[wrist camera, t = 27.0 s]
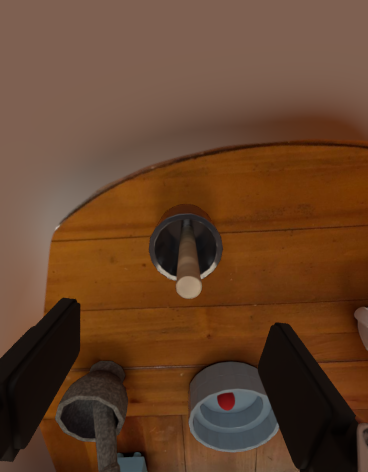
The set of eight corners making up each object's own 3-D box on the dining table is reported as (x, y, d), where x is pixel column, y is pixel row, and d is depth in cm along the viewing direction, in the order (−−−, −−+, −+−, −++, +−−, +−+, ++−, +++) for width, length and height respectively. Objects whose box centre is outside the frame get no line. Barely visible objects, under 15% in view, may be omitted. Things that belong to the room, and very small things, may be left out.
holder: (155, 253, 29) (145, 277, 22) (161, 199, 26) (153, 207, 20) (207, 261, 29) (214, 287, 22) (218, 208, 27) (229, 219, 20)
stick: (179, 237, 27) (174, 297, 14) (181, 224, 27) (177, 274, 13) (192, 239, 27) (199, 300, 14) (194, 226, 27) (203, 277, 13)
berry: (219, 410, 34) (220, 414, 32) (214, 389, 36) (215, 390, 34) (236, 406, 34) (239, 409, 32) (230, 385, 36) (232, 386, 34)
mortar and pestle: (69, 376, 35) (14, 473, 24) (97, 343, 33) (50, 432, 22) (123, 405, 37) (95, 507, 26) (152, 375, 35) (136, 472, 24)
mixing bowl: (183, 412, 38) (182, 447, 33) (195, 354, 34) (197, 383, 29) (256, 421, 38) (266, 456, 34) (277, 364, 34) (292, 395, 30)
